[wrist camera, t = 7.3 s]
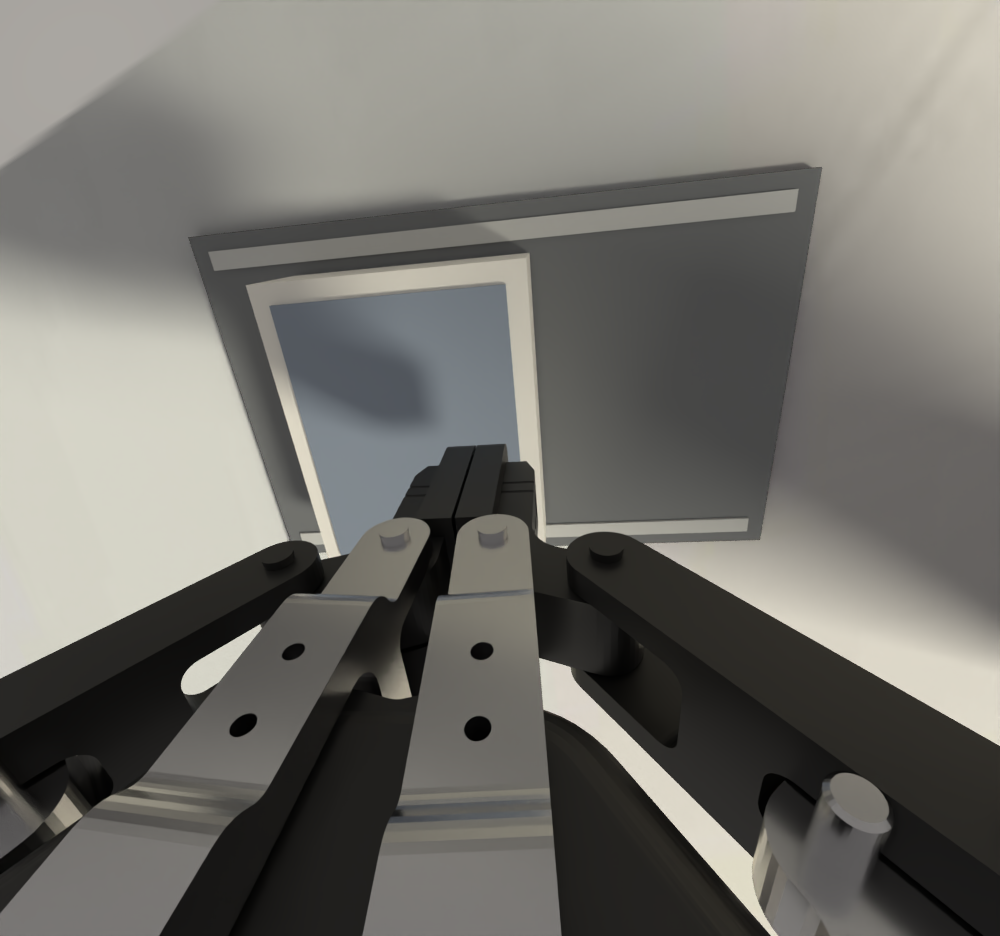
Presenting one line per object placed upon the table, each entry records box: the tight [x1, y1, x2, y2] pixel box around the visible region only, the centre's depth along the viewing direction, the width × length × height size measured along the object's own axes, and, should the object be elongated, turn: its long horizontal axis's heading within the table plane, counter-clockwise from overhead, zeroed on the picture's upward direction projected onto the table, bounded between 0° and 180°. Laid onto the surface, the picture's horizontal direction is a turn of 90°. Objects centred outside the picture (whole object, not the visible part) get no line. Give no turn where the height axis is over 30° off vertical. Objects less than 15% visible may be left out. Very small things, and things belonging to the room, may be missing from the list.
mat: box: [188, 167, 822, 553], centre depth 18 cm, size 20×13×1 cm, turn 95°
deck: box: [246, 253, 546, 558], centre depth 17 cm, size 3×10×8 cm
